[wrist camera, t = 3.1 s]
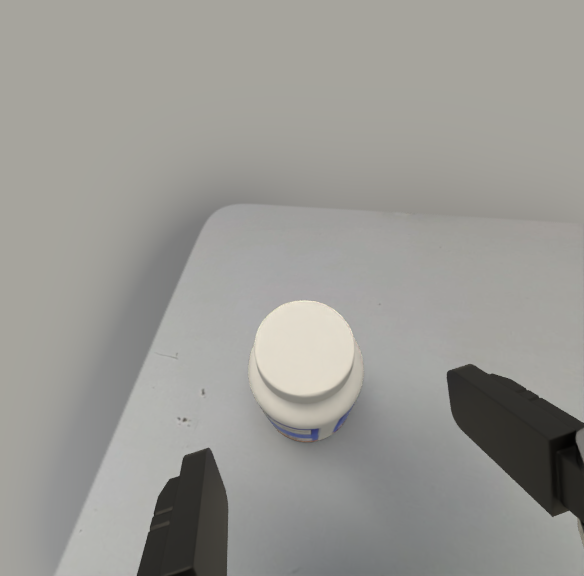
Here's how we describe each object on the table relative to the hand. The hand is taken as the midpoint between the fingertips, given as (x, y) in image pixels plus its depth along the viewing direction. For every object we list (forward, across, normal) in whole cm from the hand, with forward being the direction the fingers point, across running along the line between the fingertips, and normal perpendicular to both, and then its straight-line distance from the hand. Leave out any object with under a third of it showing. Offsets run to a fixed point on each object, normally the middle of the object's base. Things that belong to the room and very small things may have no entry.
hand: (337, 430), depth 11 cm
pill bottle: (+10, 0, +5) cm, 11 cm away
